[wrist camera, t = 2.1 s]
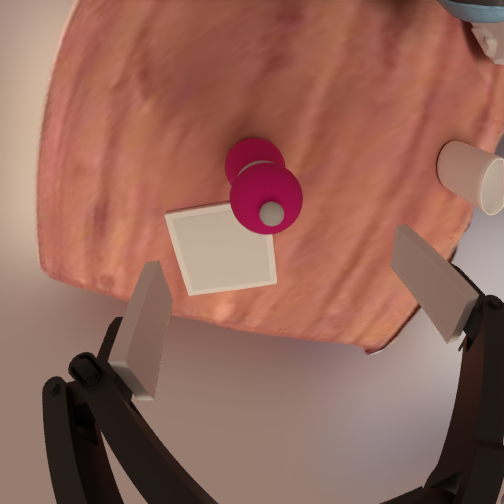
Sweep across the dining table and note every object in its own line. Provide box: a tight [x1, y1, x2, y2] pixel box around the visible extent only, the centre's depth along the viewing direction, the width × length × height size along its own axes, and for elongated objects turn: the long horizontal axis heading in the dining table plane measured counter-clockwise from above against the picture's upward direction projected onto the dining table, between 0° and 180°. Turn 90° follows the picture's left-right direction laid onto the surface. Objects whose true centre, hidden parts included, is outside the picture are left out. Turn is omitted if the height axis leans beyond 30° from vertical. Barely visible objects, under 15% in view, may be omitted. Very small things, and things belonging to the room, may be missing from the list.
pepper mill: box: [225, 138, 303, 235], centre depth 28 cm, size 7×7×20 cm
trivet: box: [165, 201, 277, 296], centre depth 42 cm, size 15×15×1 cm
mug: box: [437, 141, 504, 216], centre depth 33 cm, size 10×12×12 cm
